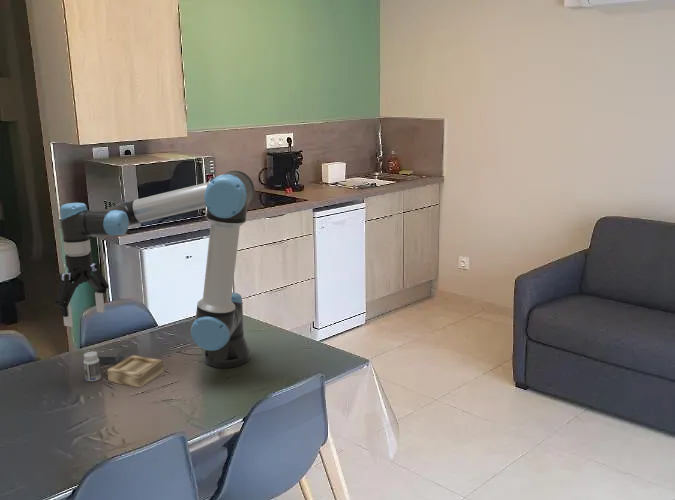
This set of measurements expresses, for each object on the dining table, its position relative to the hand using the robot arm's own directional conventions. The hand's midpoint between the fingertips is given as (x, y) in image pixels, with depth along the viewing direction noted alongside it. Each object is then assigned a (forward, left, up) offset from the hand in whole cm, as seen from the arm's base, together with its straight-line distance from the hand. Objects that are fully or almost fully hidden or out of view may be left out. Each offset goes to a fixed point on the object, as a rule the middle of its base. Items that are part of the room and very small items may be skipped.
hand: (85, 318), depth 203 cm
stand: (-16, -3, -18) cm, 24 cm away
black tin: (+1, -10, -19) cm, 21 cm away
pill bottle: (-4, +3, -19) cm, 19 cm away
